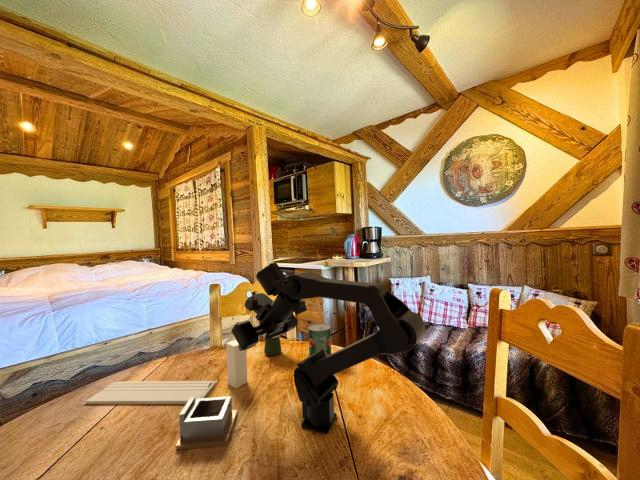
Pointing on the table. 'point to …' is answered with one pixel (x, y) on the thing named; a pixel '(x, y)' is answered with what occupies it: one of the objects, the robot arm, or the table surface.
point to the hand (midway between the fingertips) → (253, 343)
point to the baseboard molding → (152, 392)
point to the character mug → (272, 345)
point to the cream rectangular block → (236, 365)
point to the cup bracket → (206, 423)
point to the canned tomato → (319, 338)
